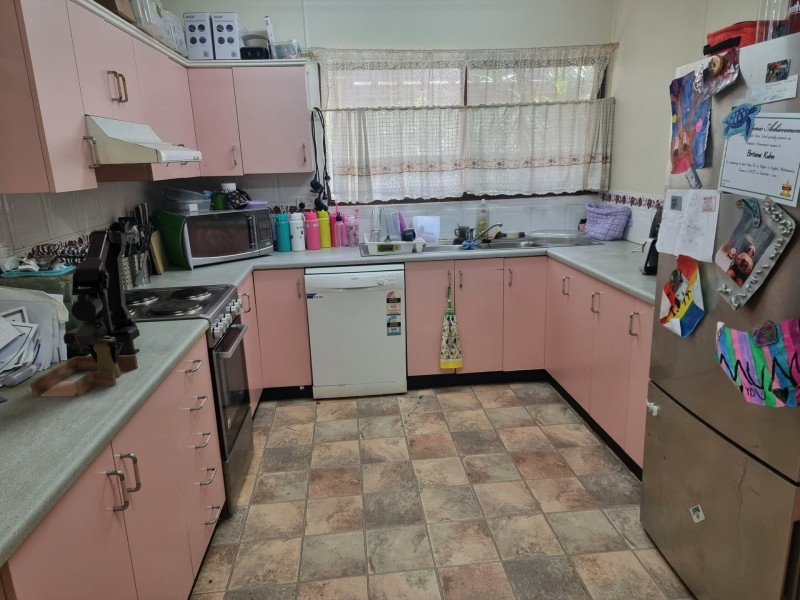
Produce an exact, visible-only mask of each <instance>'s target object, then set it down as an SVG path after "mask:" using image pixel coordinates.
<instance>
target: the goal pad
mask: <svg viewBox="0 0 800 600" xmlns="http://www.w3.org/2000/svg"><path fill="white" fill-rule="evenodd" d="M76 381H77V380H69V381H68V380H67V381H65V380H62V381H61V382H59V383H58V384H56V385H55V386H53V387H52V388H50V389H48V390H47V391H45V392H44V393H42V394H41V395H39V396H40V397H41V398H42V397H48V398H49V397H50V398H51V397H75V396H76V395H78V394H77V389H76V384H75V382H76Z"/></svg>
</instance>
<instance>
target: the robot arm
mask: <svg viewBox="0 0 800 600" xmlns="http://www.w3.org/2000/svg"><path fill="white" fill-rule="evenodd" d="M127 244H128V243H127V236H126V234H124V233H123V232H121V231H120V230H118V231H115V230H114V231H113V230H109V229H97V230H96V229H95V230H92V231H90V241H89V245H88V249H87V253H86V254H85V255H86V256H85V259H84V260H82V261H81V262H79V263H78V264H77V265H76V268H75V270H74V271H73V274H72V286H71V290H72V291H71V294H72V295H71V296H77V301H75V302H74V303H73V304H72V306H71V309H70V310H71V313H72V316H73V317H74V318H75V319H76V320H78V321H80V322H83V325H82V326H80V327H77V328H73V329H71V330H68V331H67V332H65V333H64V335H63V343H64V344H67V345H68V344H70V345H73V344H76V342H77V346H79V347H82V348H84V349H86V350H87V351H88V352H89V354H90V356H92V357H93V358H94V360H95V361H96V363H97V353H96V352H95V351H94V348H93V346H94V344H96V343H97V342H98V341H99V340H103V339H110V340H111V342H110V343H108V344H107V345H108V346H109V347H110V348H111V354H112V360H113V362H114V364H116V363H117V361H118V357H119V355H137V353H139V351H140V350H141V349H140V348H135V343H134V340H135V339H137V338H138V337H140V335H141V333H140V329H139V328H138V325H137V323H136V322H135V320H134V318H133V317H132V313H131V311H130V310H129V309H128V308H127V307H126V305H125V297H124V295H125V293H124V285H123V275H122V263H121V259H123V256H124V255H125V254H126V246H127Z"/></svg>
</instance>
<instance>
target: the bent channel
mask: <svg viewBox="0 0 800 600" xmlns="http://www.w3.org/2000/svg"><path fill="white" fill-rule="evenodd" d="M137 357H138V356H137V354H134V355H119V357H118V361H117V363H118V366H119V369H120V370H137V369H138V368H139V364H138V359H137ZM76 371H77V372H78V371H89V372H87V373H86V374H85V375H84V376H81V377H80V378H79V379H77V380H75V381H76V382H75V384H76V389H77V394H76V395H77V396H78V397H81V396H83V395H85V394H86V393H87V391H88V392H89V391H90V390H92V389H93V388H95V387H115V386H117V380H116V379H117V378H116V379H115V373H114V371H98V370H97V363H96V361H95V360H94V358H93V357H92V356H91V355H86V356H85V355H83V356H82V355H81V356H79V355H77V356H73V357H71V358H70V359H68V360H66V361H65V362H63V363H62V364H60V365H58V366H56V367H55V368H52V369H51V370H50V371H47V372H46V373H44V374H42V375H41V376H39V377H38V378H36V379H34V380H32V381H31V382H30V383H29V384H30V388H31V393H32V397H33V398H37V397H39V396H40V395H42V394H43V393H45V392H46V391H48V390H49V389H51V388H53V387H54V386H56V385H57V384H59V383H60V382H62V381H65V380H66V379H68V378H69V377H70V376H72V375H74V374H75V373H77V372H76Z"/></svg>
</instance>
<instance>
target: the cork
mask: <svg viewBox="0 0 800 600" xmlns="http://www.w3.org/2000/svg"><path fill="white" fill-rule="evenodd" d="M110 342H111V339H105V338H103V339H99V341H98V342H97V343H96V344H94V346H93V348H94V351H95V352H96V353H97V370H96V371H114V373H115V379H118V378H120V377H121V376H122V373H121V369H119V366H118V363H116V364H114V362H113V360H112V354H111V348H110V347H109V346H108V345H107V344H108V343H110Z"/></svg>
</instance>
